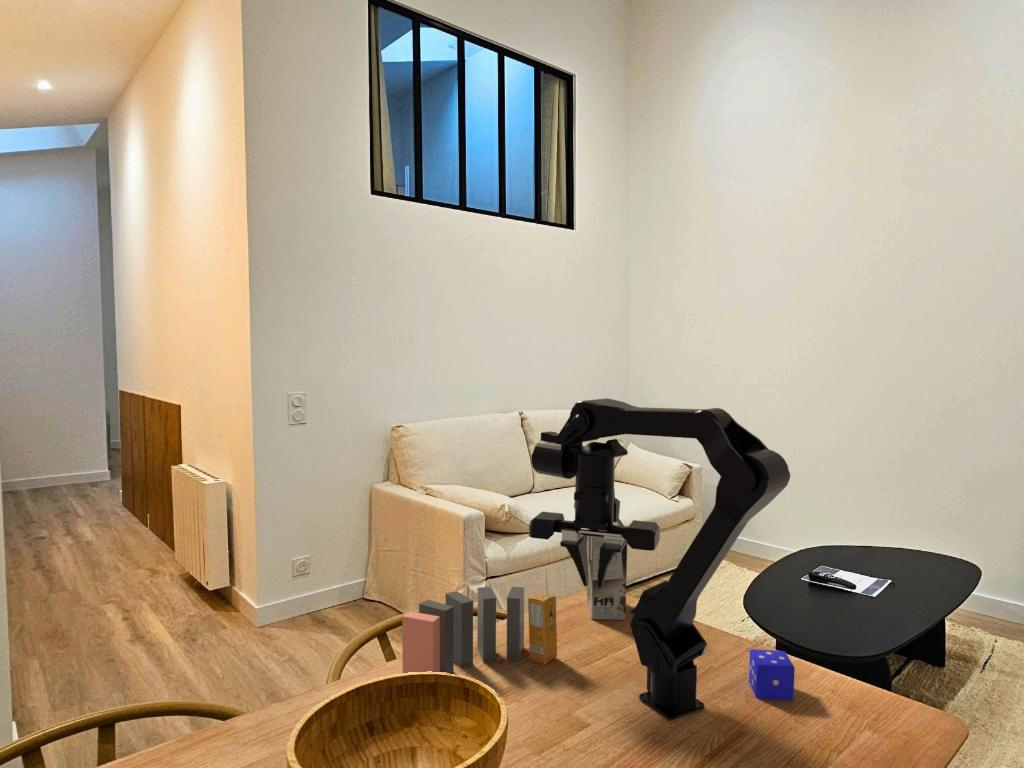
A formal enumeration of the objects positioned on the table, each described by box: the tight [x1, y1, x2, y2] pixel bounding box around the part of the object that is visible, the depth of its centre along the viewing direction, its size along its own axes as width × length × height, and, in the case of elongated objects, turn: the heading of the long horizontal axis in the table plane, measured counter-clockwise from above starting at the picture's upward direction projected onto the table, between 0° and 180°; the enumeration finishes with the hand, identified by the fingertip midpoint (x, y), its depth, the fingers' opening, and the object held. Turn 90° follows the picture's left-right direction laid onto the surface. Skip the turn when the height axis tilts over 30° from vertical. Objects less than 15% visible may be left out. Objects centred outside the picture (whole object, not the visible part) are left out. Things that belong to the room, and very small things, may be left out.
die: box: [748, 648, 796, 702], centre depth 99 cm, size 5×5×5 cm
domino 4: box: [476, 586, 497, 663], centre depth 110 cm, size 2×5×10 cm, turn 13°
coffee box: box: [586, 518, 628, 621], centre depth 128 cm, size 9×6×16 cm
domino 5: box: [506, 586, 525, 663], centre depth 110 cm, size 2×5×10 cm, turn 171°
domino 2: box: [418, 599, 454, 674], centre depth 105 cm, size 2×5×10 cm, turn 57°
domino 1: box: [401, 610, 440, 674], centre depth 100 cm, size 2×5×10 cm, turn 68°
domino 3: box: [445, 590, 474, 668], centre depth 108 cm, size 2×5×10 cm, turn 35°
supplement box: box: [527, 592, 558, 665], centre depth 108 cm, size 3×3×10 cm
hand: (593, 586), depth 104 cm, fingers closed
